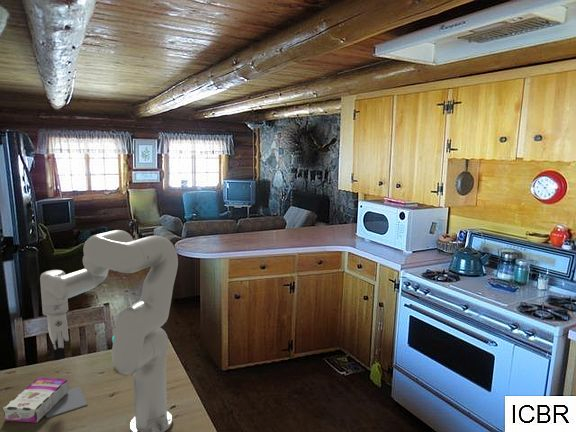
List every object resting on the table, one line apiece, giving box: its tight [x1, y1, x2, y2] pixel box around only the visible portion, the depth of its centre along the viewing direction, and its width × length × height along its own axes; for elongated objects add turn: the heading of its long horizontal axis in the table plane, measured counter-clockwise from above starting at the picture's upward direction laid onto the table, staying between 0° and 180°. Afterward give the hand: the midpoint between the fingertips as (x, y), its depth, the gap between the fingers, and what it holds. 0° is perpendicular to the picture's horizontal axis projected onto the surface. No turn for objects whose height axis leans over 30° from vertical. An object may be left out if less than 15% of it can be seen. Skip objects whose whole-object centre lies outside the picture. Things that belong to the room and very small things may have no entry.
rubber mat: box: [44, 386, 88, 419], centre depth 141 cm, size 13×12×1 cm
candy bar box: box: [2, 377, 70, 423], centre depth 138 cm, size 11×5×16 cm
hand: (59, 358), depth 142 cm, fingers closed
